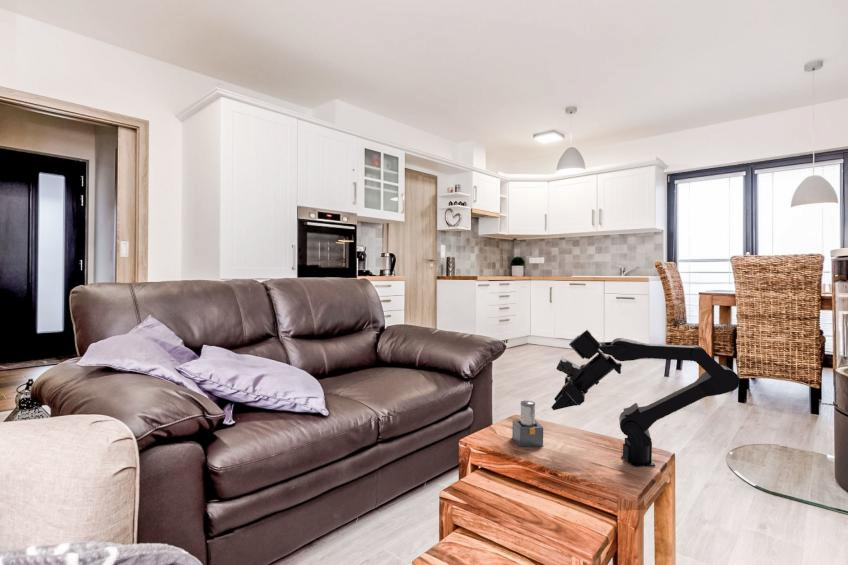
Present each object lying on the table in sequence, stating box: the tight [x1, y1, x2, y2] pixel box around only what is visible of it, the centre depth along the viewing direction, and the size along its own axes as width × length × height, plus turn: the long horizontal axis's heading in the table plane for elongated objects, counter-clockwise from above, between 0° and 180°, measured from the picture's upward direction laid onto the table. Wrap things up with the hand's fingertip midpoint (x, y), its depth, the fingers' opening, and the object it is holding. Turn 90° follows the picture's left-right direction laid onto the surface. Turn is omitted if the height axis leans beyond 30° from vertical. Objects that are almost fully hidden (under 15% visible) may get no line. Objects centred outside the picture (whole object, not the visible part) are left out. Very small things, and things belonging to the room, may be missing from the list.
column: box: [520, 400, 536, 427], centre depth 134 cm, size 4×4×12 cm
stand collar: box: [511, 419, 544, 448], centre depth 133 cm, size 8×8×6 cm
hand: (553, 404), depth 131 cm, fingers open, 9 cm apart
